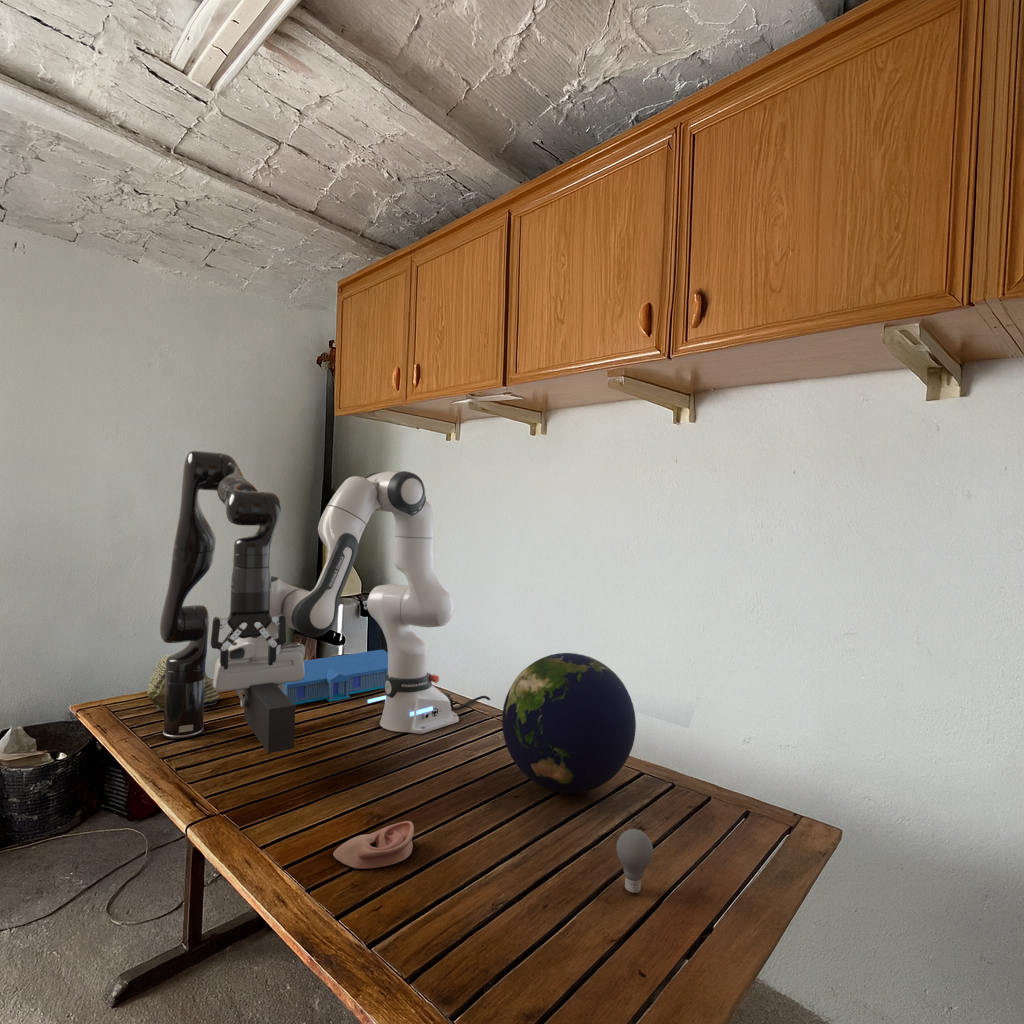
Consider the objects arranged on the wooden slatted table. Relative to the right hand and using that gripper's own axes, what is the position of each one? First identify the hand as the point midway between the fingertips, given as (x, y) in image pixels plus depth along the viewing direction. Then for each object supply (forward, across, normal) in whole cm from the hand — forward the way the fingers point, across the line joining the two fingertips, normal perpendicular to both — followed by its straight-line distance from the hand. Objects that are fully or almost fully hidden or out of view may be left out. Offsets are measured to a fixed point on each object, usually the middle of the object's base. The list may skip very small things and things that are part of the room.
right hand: (259, 704), depth 150 cm
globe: (+14, -56, +47) cm, 74 cm away
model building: (+14, -34, -46) cm, 59 cm away
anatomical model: (+13, -8, +50) cm, 53 cm away
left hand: (-14, +7, +18) cm, 24 cm away
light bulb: (+14, -41, +83) cm, 93 cm away
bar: (+4, 0, +8) cm, 9 cm away
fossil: (+14, +10, -49) cm, 52 cm away
